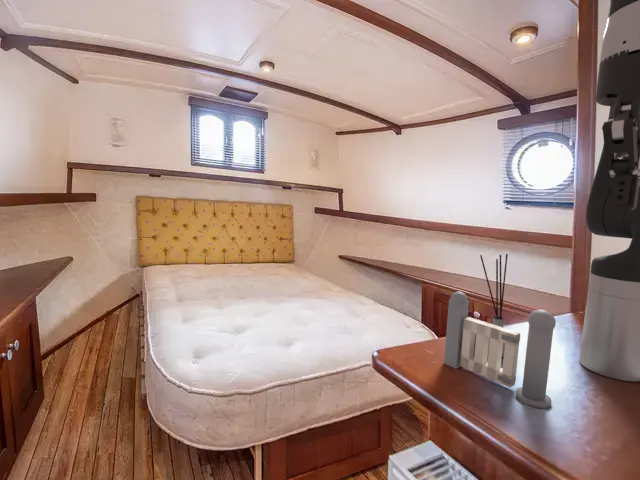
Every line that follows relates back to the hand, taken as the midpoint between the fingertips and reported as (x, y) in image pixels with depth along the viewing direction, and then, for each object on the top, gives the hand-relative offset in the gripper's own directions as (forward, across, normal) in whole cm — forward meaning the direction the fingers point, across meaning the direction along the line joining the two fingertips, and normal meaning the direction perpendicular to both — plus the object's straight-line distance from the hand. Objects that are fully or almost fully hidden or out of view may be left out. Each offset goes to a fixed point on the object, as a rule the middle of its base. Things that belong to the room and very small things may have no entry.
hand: (622, 209), depth 40 cm
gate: (+28, -3, -15) cm, 32 cm away
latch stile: (+29, -4, -20) cm, 35 cm away
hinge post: (+29, -3, -8) cm, 30 cm away
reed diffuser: (+29, -14, -20) cm, 38 cm away
